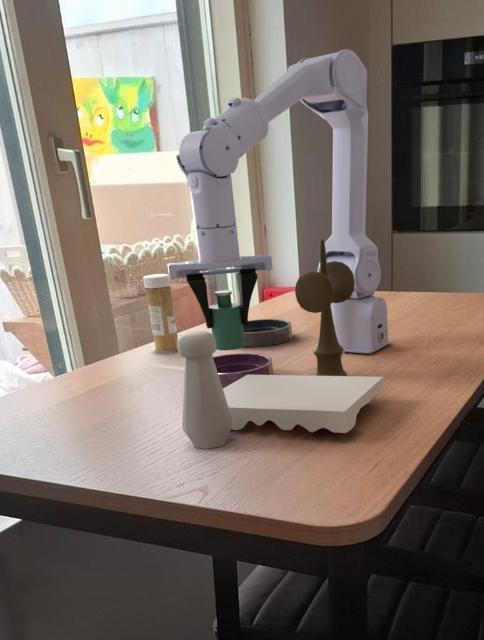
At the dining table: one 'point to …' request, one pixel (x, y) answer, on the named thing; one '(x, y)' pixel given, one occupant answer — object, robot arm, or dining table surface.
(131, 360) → the dining table surface
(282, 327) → the bowl charcoal
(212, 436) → the salt shaker
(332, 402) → the scalloped display plinth
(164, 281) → the sprinkles bottle
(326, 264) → the kendama
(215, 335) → the bottle
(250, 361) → the bowl plum
